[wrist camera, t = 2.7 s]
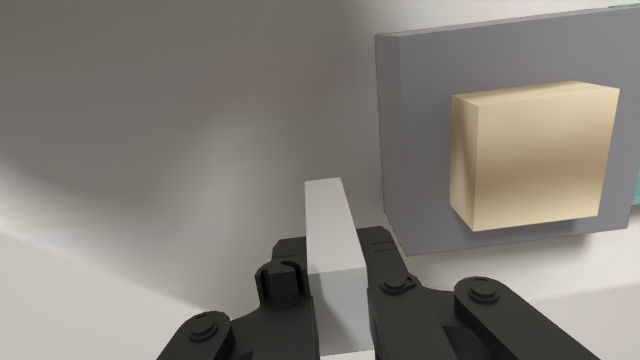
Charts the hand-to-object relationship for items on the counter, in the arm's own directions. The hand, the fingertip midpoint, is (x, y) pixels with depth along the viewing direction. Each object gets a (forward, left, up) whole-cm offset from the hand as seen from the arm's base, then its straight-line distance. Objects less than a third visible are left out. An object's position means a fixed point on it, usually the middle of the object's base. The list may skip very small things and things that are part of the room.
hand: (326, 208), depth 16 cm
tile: (0, +10, -4) cm, 11 cm away
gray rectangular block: (0, +11, -10) cm, 15 cm away
